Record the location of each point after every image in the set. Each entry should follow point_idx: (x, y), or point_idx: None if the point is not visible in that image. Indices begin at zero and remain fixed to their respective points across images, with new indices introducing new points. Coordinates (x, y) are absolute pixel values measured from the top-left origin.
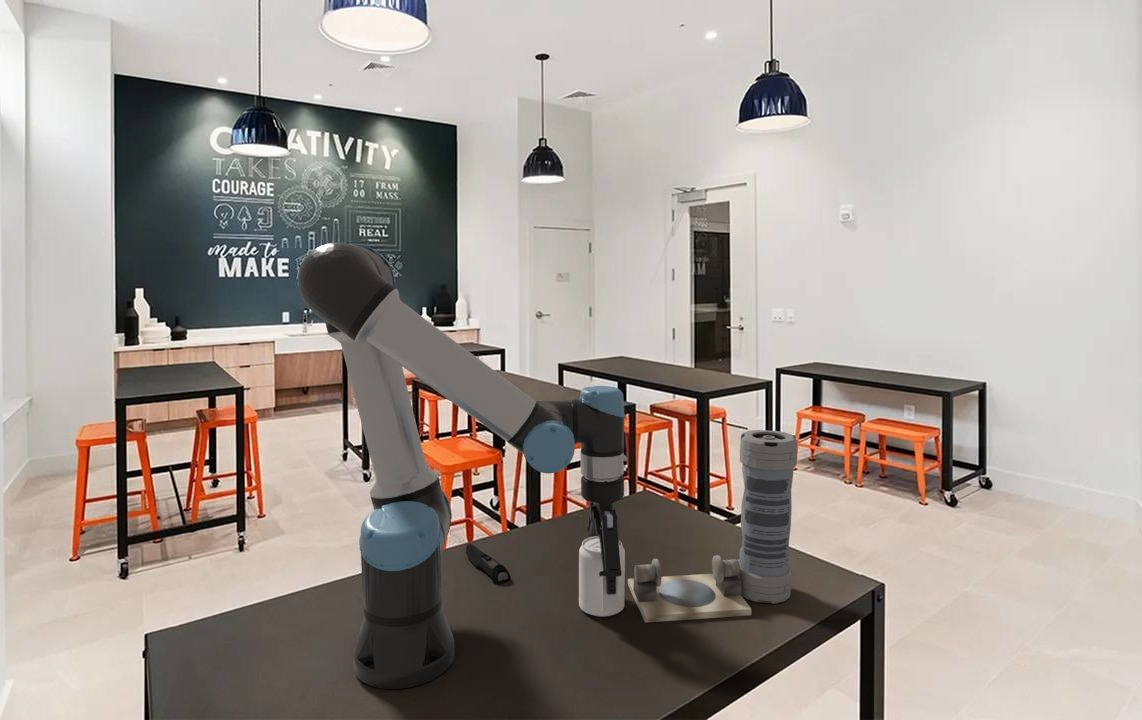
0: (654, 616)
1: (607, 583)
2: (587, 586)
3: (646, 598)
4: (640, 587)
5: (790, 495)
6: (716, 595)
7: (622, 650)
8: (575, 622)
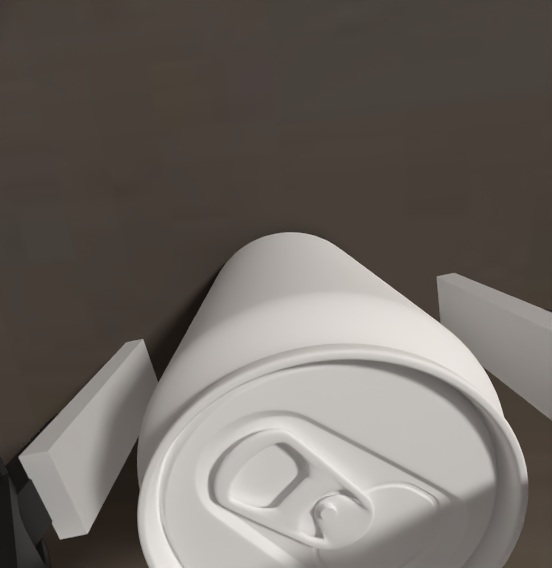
0: None
1: (21, 453)
2: (206, 297)
3: None
4: None
5: None
6: None
7: (47, 374)
8: (180, 225)
